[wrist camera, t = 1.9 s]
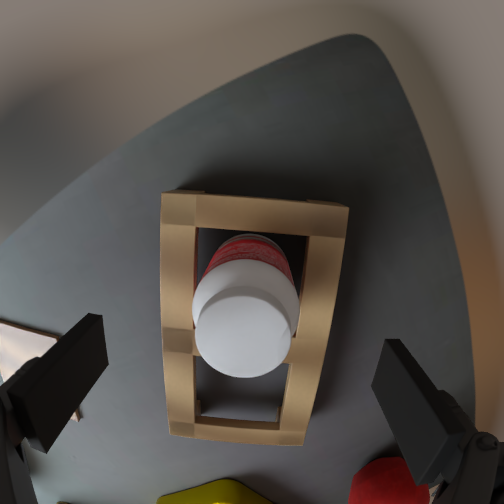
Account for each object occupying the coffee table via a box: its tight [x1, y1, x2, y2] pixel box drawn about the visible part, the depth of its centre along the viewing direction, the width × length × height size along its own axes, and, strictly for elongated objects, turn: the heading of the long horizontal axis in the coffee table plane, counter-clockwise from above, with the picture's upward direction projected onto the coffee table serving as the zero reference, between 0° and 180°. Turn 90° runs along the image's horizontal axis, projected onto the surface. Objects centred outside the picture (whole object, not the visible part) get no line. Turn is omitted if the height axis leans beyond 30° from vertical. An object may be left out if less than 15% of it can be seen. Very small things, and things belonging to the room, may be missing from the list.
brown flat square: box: [0, 320, 80, 422], centre depth 29 cm, size 12×12×1 cm
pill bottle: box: [192, 234, 300, 378], centre depth 20 cm, size 6×6×11 cm
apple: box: [348, 457, 430, 504], centre depth 26 cm, size 10×10×11 cm
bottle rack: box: [160, 189, 349, 445], centre depth 25 cm, size 22×13×4 cm, turn 176°
